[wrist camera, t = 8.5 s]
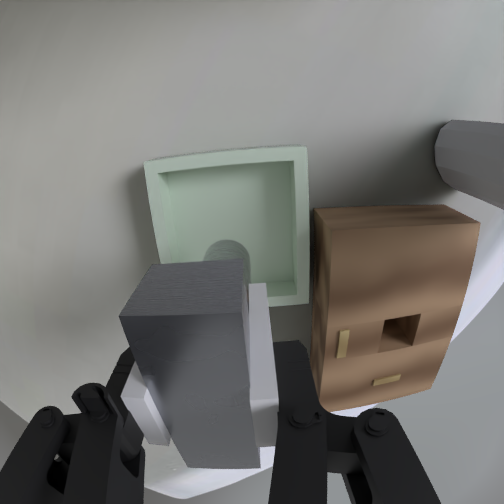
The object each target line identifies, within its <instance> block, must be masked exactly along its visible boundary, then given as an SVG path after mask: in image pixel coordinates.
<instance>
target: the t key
mask: <svg viewBox="0 0 504 504" xmlns="http://www.w3.org/2000/svg"><path fill="white" fill-rule="evenodd" d="M249 284H251V265H250V255H249V253H248V251H247V249H246V248H245V247H244V246H243V245H242V244H240V243H239V242H237V241H234V240H228V239H227V240H220V241H217V242H215V243H213V244H212V245H211V246H210V247H209V248H208V249H207V251H206V253H205V256H204V259H203V261H197V262H183V263H168V264H152V265H151V267H150V268H149V270H148V271H147V273H146V274H145V276H144V277H143V279H142V280H141V282H140V283H139V285H138V286H137V288H136V289H135V291H134V293H133V294H132V296H131V297H130V299H129V300H128V302H127V303H126V305H125V307H124V308H123V310H122V311H121V313H120V315H119V318H120V321H121V324H122V327H123V329H124V332H125V335H126V338H127V340H128V343H129V346H130V348H131V351H132V354H133V356H134V359H135V361H136V364H137V366H138V368H139V371H140V373H141V376H142V378H143V380H144V382H145V385H146V387H147V389H148V391H149V393H150V395H151V397H152V399H153V402H154V404H155V406H156V408H157V410H158V412H159V414H160V416H161V418H162V420H163V422H164V424H165V426H166V428H167V430H168V432H169V433H170V435H171V438H172V440H173V442H174V444H175V445H176V447H177V449H178V451H179V453H180V454H181V456H182V458H183V460H184V461H185V463H186V465H187V466H188V467H190V468H210V469H251V468H260V447H256V441H255V434H254V427H253V420H252V413H251V405H250V324H249Z"/></svg>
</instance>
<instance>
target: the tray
mask: <svg viewBox="0 0 504 504" xmlns="http://www.w3.org/2000/svg"><path fill="white" fill-rule="evenodd" d="M143 163H144V170H145V178H146V185H147V191H148V198H149V204H150V210H151V216H152V222H153V227H154V233H155V238H156V243H157V248H158V253H159V258H160V263H161V264H168V263H183V262H197V261H203V259H204V256H205V253H206V251H207V249H208V248H209V247H210V246H211V245H212V244H213V243H215V242H217V241H220V240H227V239H228V240H234V241H237V242H239V243H240V244H242V245H243V246H244V247H245V248H246V249H247V251H248V253H249V255H250V265H251V284H254V283H266V289H267V298H268V306H269V307H275V306H287V305H299V304H309V263H310V237H309V185H308V159H307V146H302V145H284V146H265V147H250V148H238V149H227V150H217V151H207V152H199V153H191V154H183V155H176V156H169V157H162V158H156V159H152V160H149V161H146V162H143Z"/></svg>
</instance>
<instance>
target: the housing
mask: <svg viewBox="0 0 504 504" xmlns="http://www.w3.org/2000/svg"><path fill="white" fill-rule="evenodd" d="M479 229H480V222H478V221H476V220H474V219H472V218H470V217H468V216H466V215H464V214H462V213H460V212H458V211H456V210H454V209H452V208H450V207H448V206H446V205H386V206H356V207H333V208H314V278H313V312H312V334H311V352H310V366H311V370H312V375H313V379H314V383H315V387H316V391H317V396H318V400H319V402H320V404H321V405H322V407H323V408H324V409H325V410H327V411H328V412H333V411H339V410H345V409H350V408H356V407H361V406H366V405H370V404H375V403H379V402H384V401H388V400H392V399H396V398H400V397H403V396H407V395H411V394H414V393H418V392H421V391H424V390H428V389H430V388H431V386H432V384H433V382H434V379H435V378H436V375H437V373H438V371H439V368H440V366H441V364H442V361H443V359H444V356H445V353H446V351H447V349H448V346H449V343H450V341H451V338H452V335H453V332H454V329H455V326H456V323H457V320H458V317H459V314H460V311H461V308H462V304H463V301H464V297H465V294H466V290H467V286H468V283H469V279H470V274H471V270H472V266H473V261H474V257H475V252H476V247H477V241H478V235H479Z"/></svg>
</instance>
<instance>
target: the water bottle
mask: <svg viewBox="0 0 504 504" xmlns="http://www.w3.org/2000/svg"><path fill="white" fill-rule="evenodd" d="M434 147H435V162H436V166H437V168H438V171H439V173H440V175H441V177H442V179H443V181H444V182H445V183H447V184H448V185H450V186H451V187H453V188H454V189H456V190H458V191H461V192H463V193H466V194H468V195H471V196H473V197H476V198H478V199H481V200H483V201H485V202H488V203H490V204H492V205H494V206H497V207H499V208H501V209H503V210H504V124H502V123H492V122H480V121H464V120H451V121H450V122H448V123H447V124H446V125H445V126H444V127H442V128H441V129H440V132H439V135H438V138H437V140H436V143H435V146H434Z"/></svg>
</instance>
